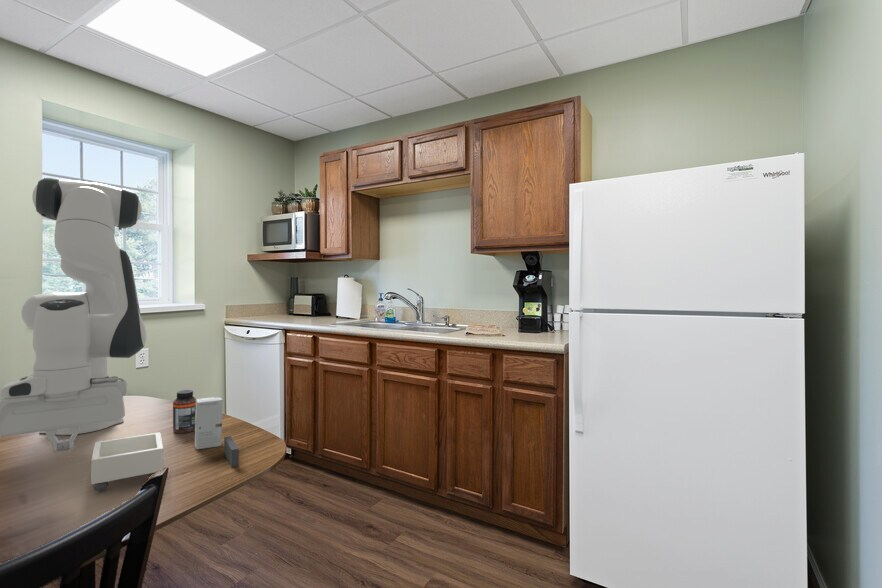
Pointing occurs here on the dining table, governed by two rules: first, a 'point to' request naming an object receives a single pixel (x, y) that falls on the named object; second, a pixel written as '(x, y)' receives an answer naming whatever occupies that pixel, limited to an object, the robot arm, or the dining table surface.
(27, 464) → the dining table surface
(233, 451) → the block
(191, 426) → the supplement bottle
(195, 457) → the dining table surface
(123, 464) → the cart
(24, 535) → the dining table surface
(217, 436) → the skincare box
